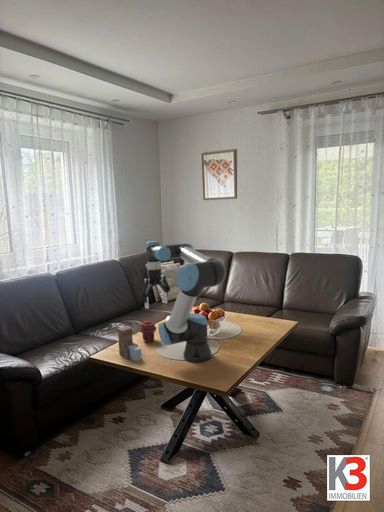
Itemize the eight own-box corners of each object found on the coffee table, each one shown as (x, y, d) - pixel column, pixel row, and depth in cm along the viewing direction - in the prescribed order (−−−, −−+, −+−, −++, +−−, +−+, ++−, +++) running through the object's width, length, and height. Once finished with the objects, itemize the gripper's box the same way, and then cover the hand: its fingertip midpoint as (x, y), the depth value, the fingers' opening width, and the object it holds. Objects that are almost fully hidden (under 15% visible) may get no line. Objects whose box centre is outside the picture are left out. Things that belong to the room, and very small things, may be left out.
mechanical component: (158, 338, 229) (154, 344, 220) (143, 337, 231) (138, 343, 222) (157, 319, 228) (152, 324, 218) (142, 318, 230) (137, 323, 220)
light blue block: (142, 359, 198) (141, 348, 197) (136, 361, 196) (135, 350, 195) (132, 354, 205) (131, 343, 205) (126, 356, 203) (125, 345, 202)
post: (118, 354, 206) (116, 329, 204) (129, 350, 211) (127, 325, 209) (126, 358, 199) (125, 332, 197) (138, 355, 204) (136, 329, 202)
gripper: (166, 265, 217) (168, 300, 220) (132, 271, 200) (134, 309, 202) (175, 266, 212) (177, 302, 214) (140, 272, 194) (142, 311, 197)
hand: (156, 305), depth 208 cm, fingers open, 13 cm apart
